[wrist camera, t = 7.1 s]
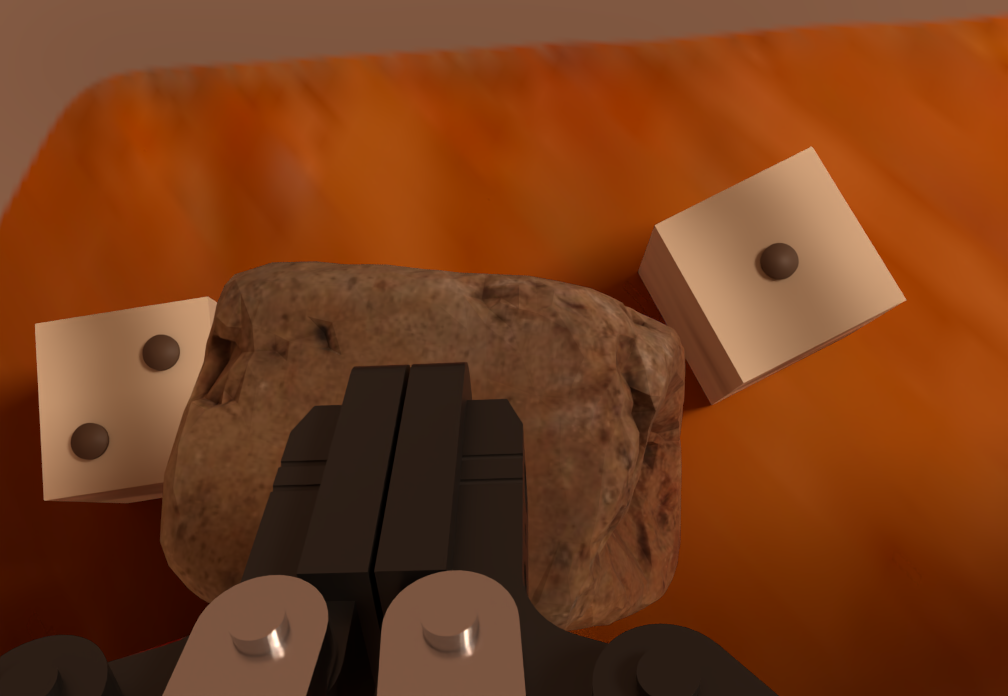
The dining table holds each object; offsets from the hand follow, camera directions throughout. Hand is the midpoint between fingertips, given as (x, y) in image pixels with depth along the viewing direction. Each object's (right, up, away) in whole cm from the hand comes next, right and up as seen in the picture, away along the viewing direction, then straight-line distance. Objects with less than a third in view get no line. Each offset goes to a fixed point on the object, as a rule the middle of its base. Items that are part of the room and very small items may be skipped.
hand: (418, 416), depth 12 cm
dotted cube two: (-11, -2, +24) cm, 26 cm away
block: (+1, -4, +23) cm, 23 cm away
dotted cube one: (+11, +3, +24) cm, 26 cm away
